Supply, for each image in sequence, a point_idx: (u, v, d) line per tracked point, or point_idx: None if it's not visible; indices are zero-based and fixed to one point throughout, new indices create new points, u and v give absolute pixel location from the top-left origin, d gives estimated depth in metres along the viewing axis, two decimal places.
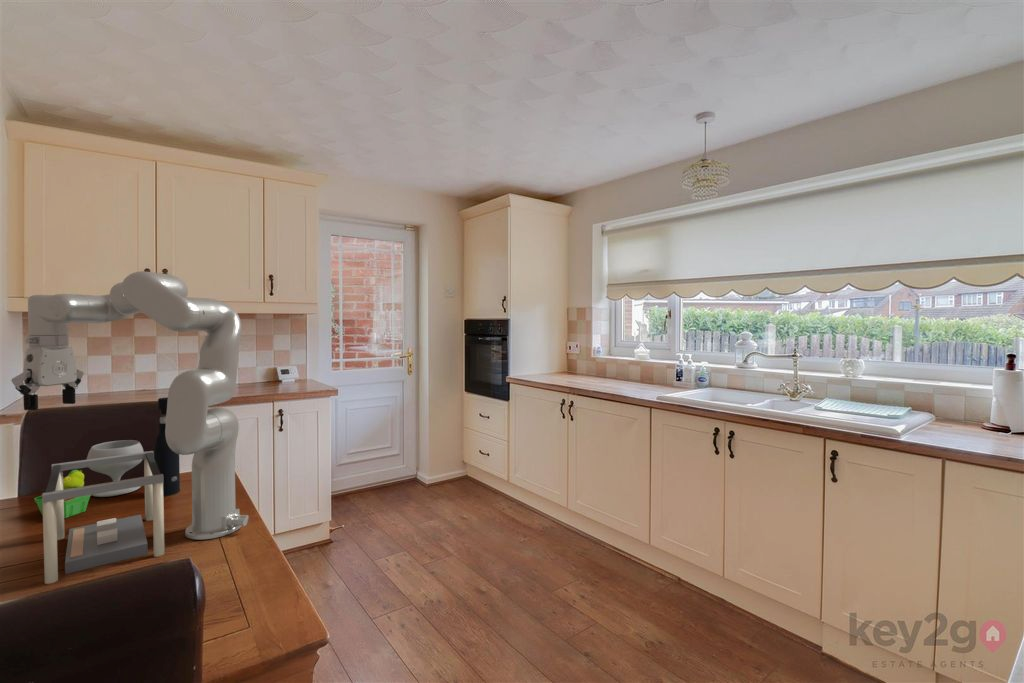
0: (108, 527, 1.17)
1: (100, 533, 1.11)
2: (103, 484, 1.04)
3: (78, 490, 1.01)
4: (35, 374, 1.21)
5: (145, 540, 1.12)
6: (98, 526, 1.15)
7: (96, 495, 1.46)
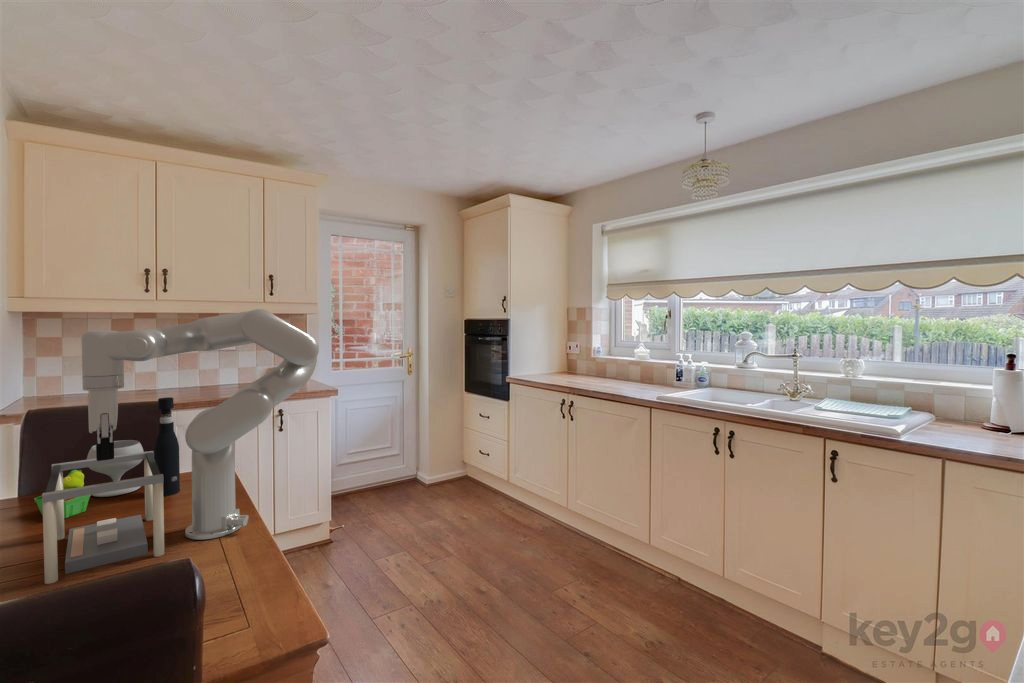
0: (108, 527, 1.17)
1: (100, 533, 1.11)
2: (103, 484, 1.04)
3: (78, 490, 1.01)
4: None
5: (145, 540, 1.12)
6: (98, 526, 1.15)
7: (96, 495, 1.46)
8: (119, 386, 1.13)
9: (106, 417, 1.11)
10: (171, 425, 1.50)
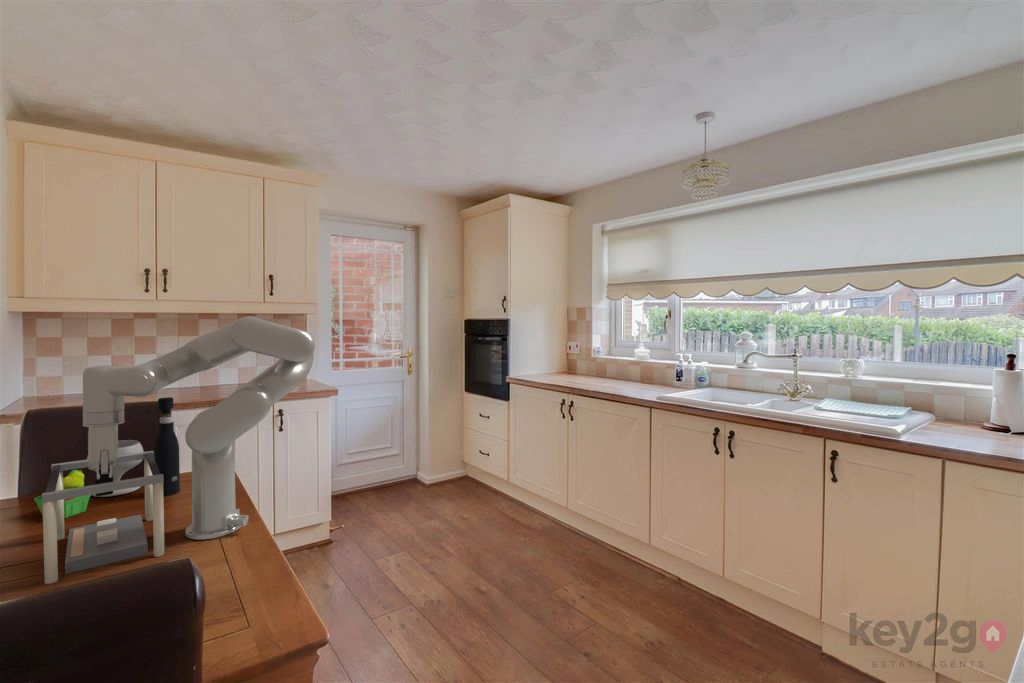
0: (108, 527, 1.17)
1: (100, 533, 1.11)
2: (103, 484, 1.04)
3: (78, 490, 1.01)
4: None
5: (145, 540, 1.12)
6: (98, 526, 1.15)
7: None
8: (119, 422, 1.14)
9: (106, 453, 1.11)
10: (171, 425, 1.50)
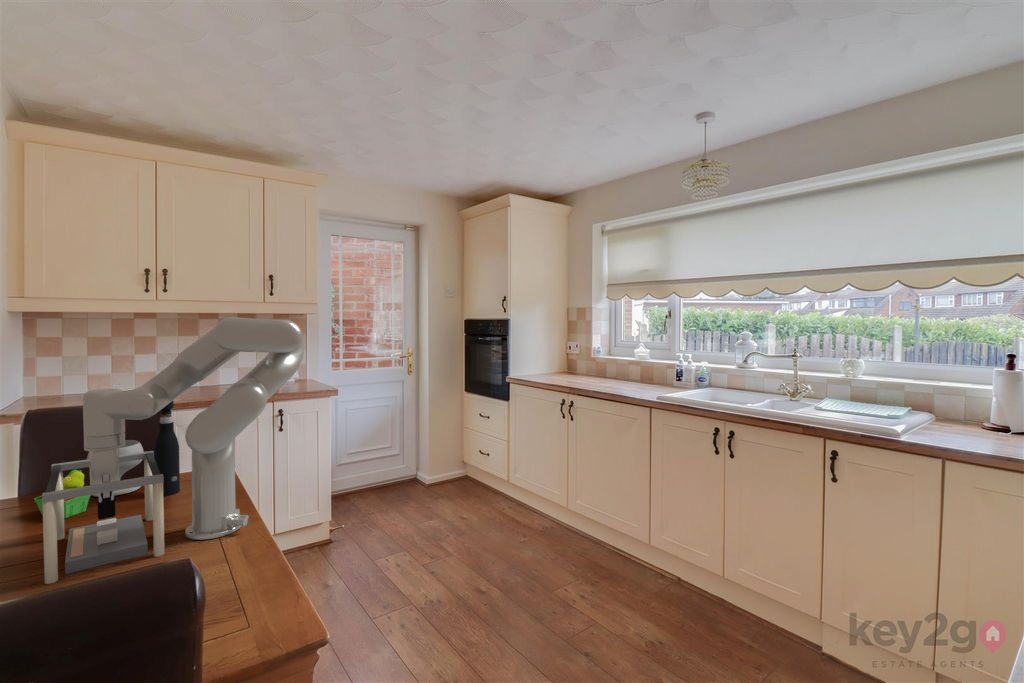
0: (108, 527, 1.17)
1: (100, 533, 1.11)
2: (103, 484, 1.04)
3: (78, 490, 1.01)
4: None
5: (145, 540, 1.12)
6: (98, 526, 1.15)
7: (96, 495, 1.46)
8: (120, 445, 1.14)
9: (107, 477, 1.11)
10: (171, 425, 1.50)
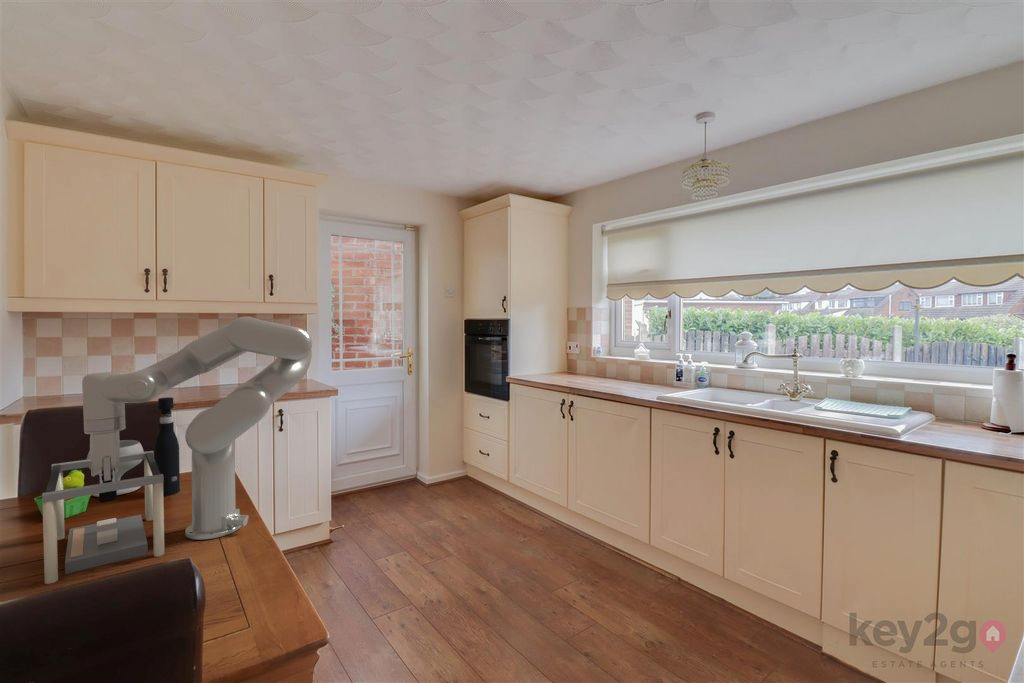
0: (108, 527, 1.17)
1: (100, 533, 1.11)
2: (103, 484, 1.04)
3: (78, 490, 1.01)
4: None
5: (145, 540, 1.12)
6: (98, 526, 1.15)
7: (96, 495, 1.46)
8: (120, 428, 1.14)
9: (108, 460, 1.11)
10: (171, 425, 1.50)
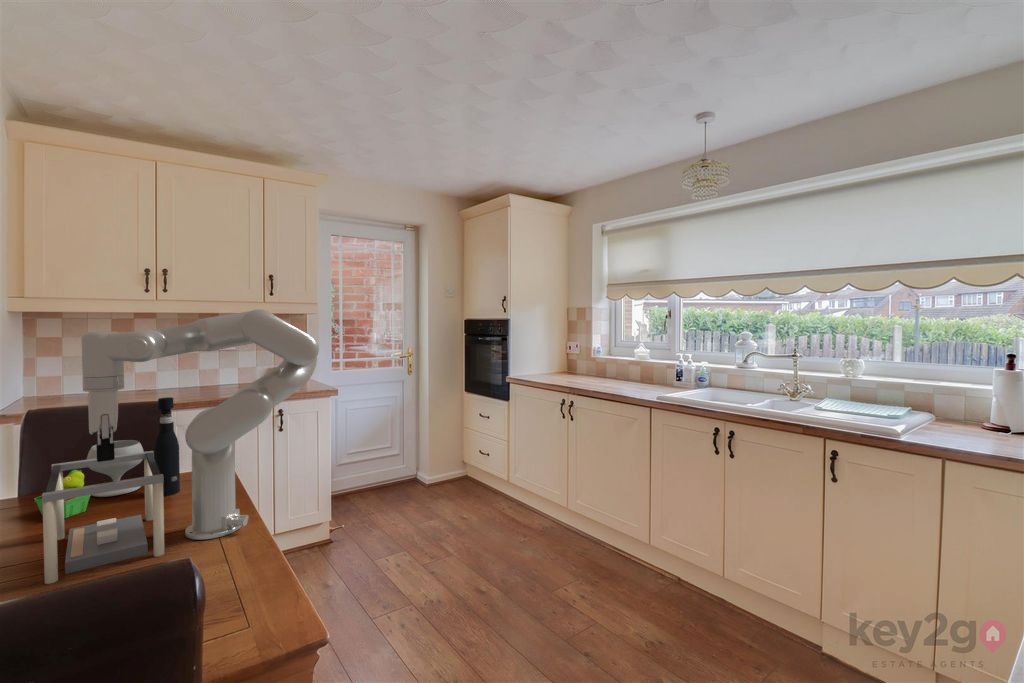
0: (108, 527, 1.17)
1: (100, 533, 1.11)
2: (103, 484, 1.04)
3: (78, 490, 1.01)
4: None
5: (145, 540, 1.12)
6: (98, 526, 1.15)
7: (96, 495, 1.46)
8: (119, 387, 1.13)
9: (106, 418, 1.11)
10: (171, 425, 1.50)
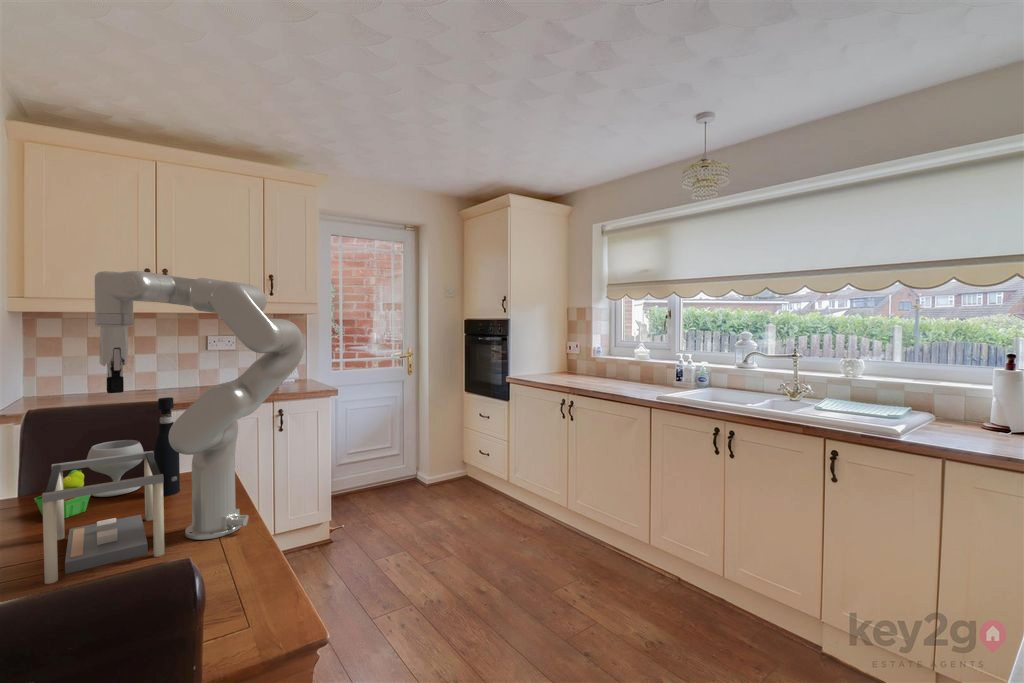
0: (108, 527, 1.17)
1: (100, 533, 1.11)
2: (103, 484, 1.04)
3: (78, 490, 1.01)
4: None
5: (145, 540, 1.12)
6: (98, 526, 1.15)
7: (96, 495, 1.46)
8: (129, 324, 1.22)
9: (118, 351, 1.19)
10: (171, 425, 1.50)
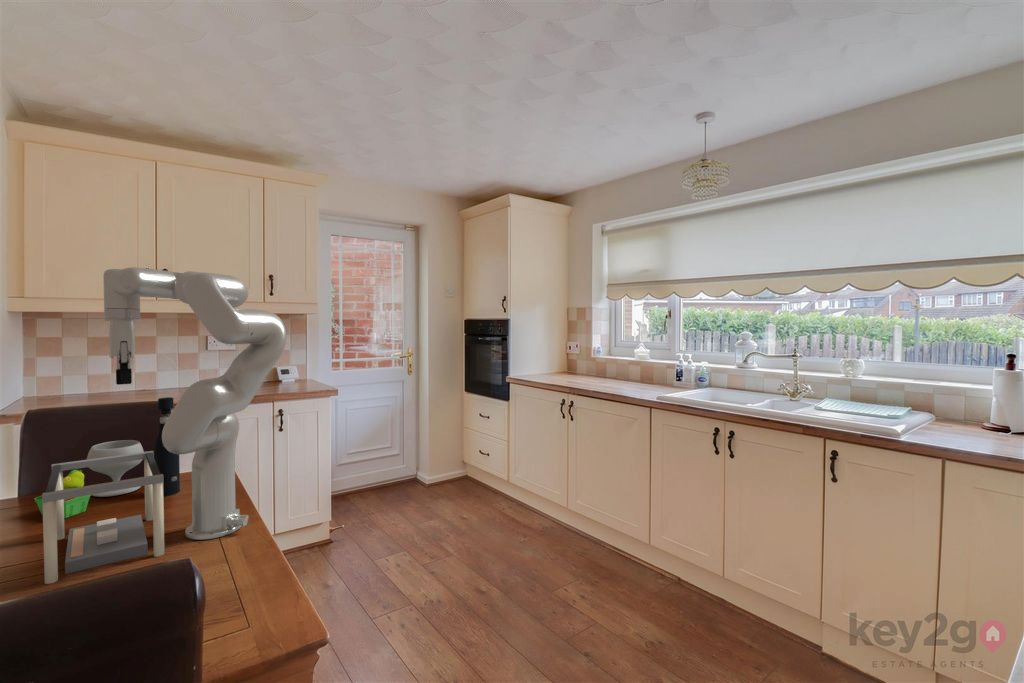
0: (108, 527, 1.17)
1: (100, 533, 1.11)
2: (103, 484, 1.04)
3: (78, 490, 1.01)
4: None
5: (145, 540, 1.12)
6: (98, 526, 1.15)
7: (96, 495, 1.46)
8: (136, 319, 1.28)
9: (125, 345, 1.26)
10: None
